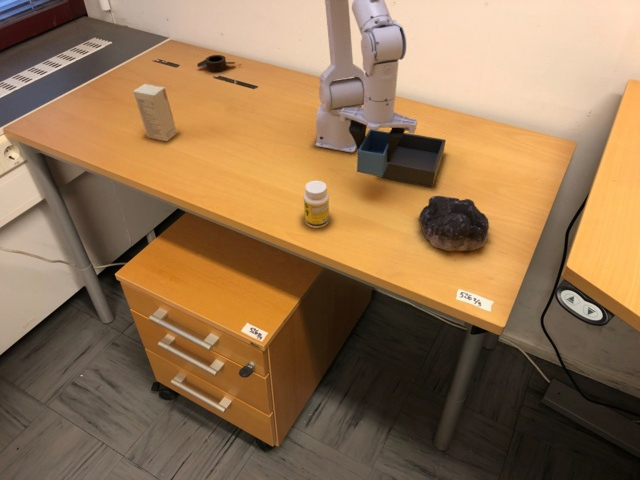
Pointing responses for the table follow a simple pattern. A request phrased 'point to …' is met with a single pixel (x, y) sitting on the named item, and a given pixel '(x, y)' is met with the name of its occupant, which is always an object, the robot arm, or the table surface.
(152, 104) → the cosmetic box
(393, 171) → the charcoal bin
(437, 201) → the crystal cluster
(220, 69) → the black ring with tabs
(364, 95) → the robot arm
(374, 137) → the blue bin
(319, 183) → the supplement bottle
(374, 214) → the table surface
